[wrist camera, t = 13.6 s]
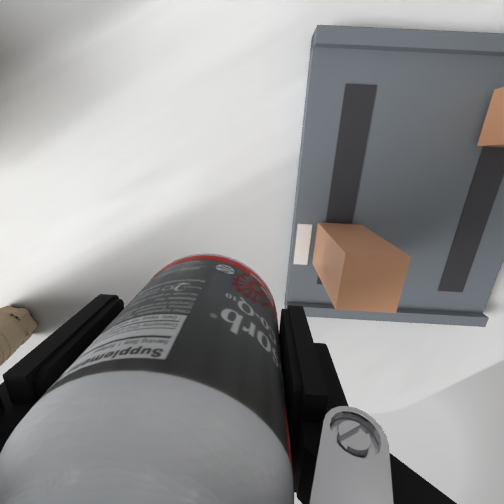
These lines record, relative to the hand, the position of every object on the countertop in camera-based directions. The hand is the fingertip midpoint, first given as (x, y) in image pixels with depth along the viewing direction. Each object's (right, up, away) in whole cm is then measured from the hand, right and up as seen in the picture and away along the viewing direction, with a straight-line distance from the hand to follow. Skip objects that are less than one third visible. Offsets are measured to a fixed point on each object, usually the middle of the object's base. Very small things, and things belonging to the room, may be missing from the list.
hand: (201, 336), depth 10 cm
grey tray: (+12, +7, +9) cm, 17 cm away
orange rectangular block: (+8, +4, +9) cm, 12 cm away
